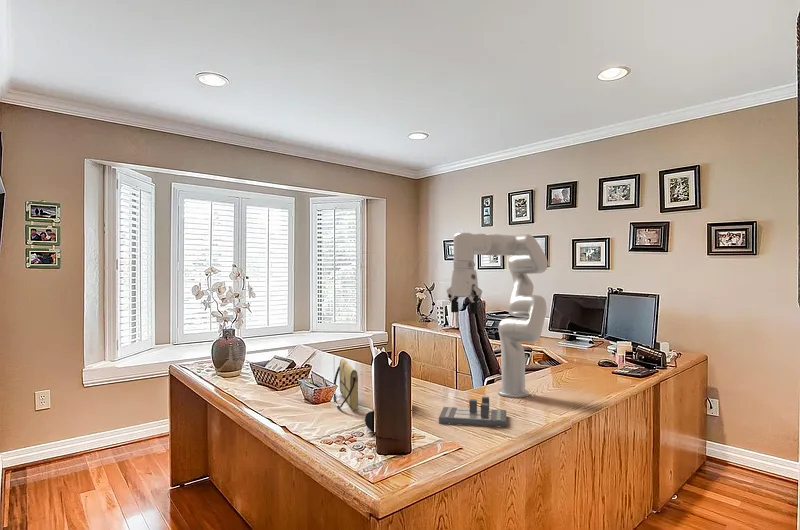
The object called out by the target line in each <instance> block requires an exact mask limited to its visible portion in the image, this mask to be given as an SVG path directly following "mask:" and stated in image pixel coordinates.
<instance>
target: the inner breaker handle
mask: <svg viewBox="0 0 800 530" xmlns="http://www.w3.org/2000/svg"><path fill="white" fill-rule="evenodd" d="M481 403H487V404H488V410H489V409H490V396H482V397H481Z"/></svg>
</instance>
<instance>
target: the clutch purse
mask: <svg viewBox="0 0 800 530" xmlns="http://www.w3.org/2000/svg"><path fill="white" fill-rule="evenodd" d="M338 376H339V391H340V394H341V395H342V396H343V397H344V400H343V402H342V403H341V404H340V405H339V404H338V402H337V395H336V394H337V393H335V394H334V397H333V402H336V403H337V404H338V406H337V407H336V408H337V409H342V407H343V406H344V404H345V403H346V402H347V404H348V405H349V406H350V408H351V410H352V411H356V410H357V409H358V405H359V376H358V372H357V370H356V369H354V368H353V367H352V365H350V363H349V362H348V361H346V359H345V358H341V359H340V362H339V366H338V367H337V370H336V372H335V376H334V379H333V384H335V385H336V384H337V381H338V380H337V379H338Z"/></svg>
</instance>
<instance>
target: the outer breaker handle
mask: <svg viewBox="0 0 800 530" xmlns="http://www.w3.org/2000/svg"><path fill="white" fill-rule="evenodd" d="M480 408H481V417H486V418H488V404H487V403H482V402H481V403H480Z"/></svg>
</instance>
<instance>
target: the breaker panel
mask: <svg viewBox="0 0 800 530" xmlns="http://www.w3.org/2000/svg"><path fill="white" fill-rule="evenodd" d="M440 423H450V424H449V425H456V424H462V426H472V425H477V427H478V426H479V427H489V426H500V427H499V428H505V427H507V410H506V409H492V408H489V410H488V418H486V417H481V407H477V413H470V407H468V406H467V407H465V406H464V407H463V406H462V407H461V406H457V407H452V406H443V408H442V410H441V412H440V415H439V416H438V424H440Z"/></svg>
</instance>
